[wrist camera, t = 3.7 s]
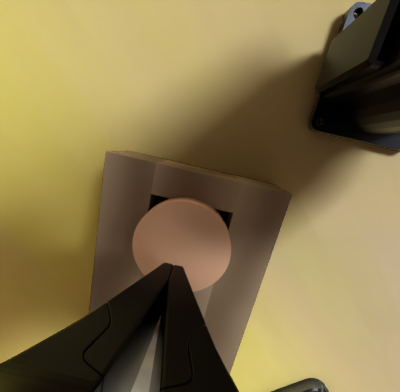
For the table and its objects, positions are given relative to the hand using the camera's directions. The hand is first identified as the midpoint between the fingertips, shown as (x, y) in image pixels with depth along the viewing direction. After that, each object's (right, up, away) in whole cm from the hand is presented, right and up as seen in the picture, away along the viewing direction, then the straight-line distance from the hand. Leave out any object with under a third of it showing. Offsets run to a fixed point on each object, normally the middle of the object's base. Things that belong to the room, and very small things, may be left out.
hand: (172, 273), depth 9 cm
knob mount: (-1, -7, +8) cm, 11 cm away
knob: (0, +1, +6) cm, 6 cm away
